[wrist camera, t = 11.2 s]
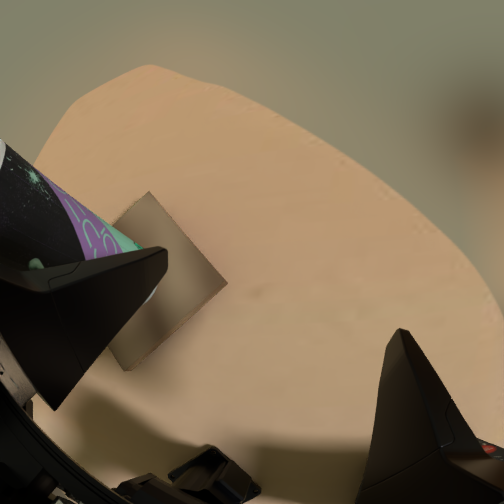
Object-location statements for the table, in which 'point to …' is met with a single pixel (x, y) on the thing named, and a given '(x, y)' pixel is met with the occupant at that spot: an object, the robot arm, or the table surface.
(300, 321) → the table surface
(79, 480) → the robot arm
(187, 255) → the flat square brown plate
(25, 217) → the spray can
